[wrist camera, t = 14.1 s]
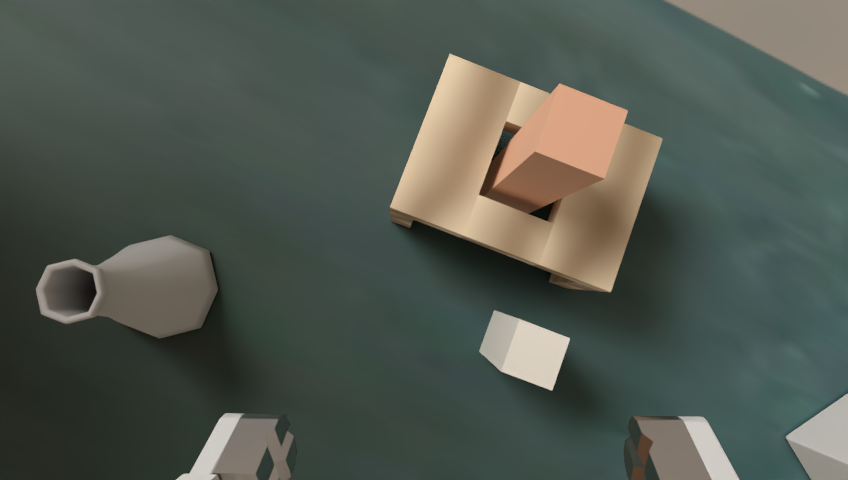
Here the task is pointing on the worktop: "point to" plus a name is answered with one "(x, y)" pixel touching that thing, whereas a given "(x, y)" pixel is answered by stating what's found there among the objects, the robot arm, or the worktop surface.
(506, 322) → the short block
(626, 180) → the tan block with hole
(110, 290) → the flask
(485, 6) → the worktop surface
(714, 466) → the robot arm
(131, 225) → the worktop surface
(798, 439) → the milk carton
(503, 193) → the long pin
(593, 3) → the worktop surface
